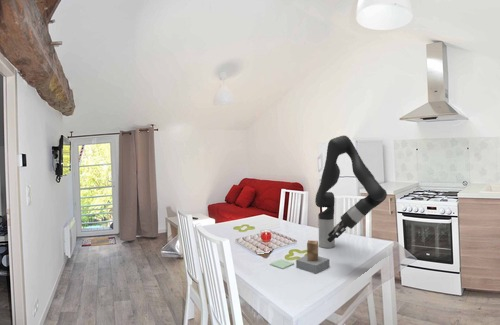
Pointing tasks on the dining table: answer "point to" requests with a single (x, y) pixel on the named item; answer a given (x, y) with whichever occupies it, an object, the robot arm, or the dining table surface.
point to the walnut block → (312, 250)
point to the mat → (281, 264)
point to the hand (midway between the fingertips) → (328, 238)
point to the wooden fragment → (265, 255)
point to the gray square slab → (313, 264)
